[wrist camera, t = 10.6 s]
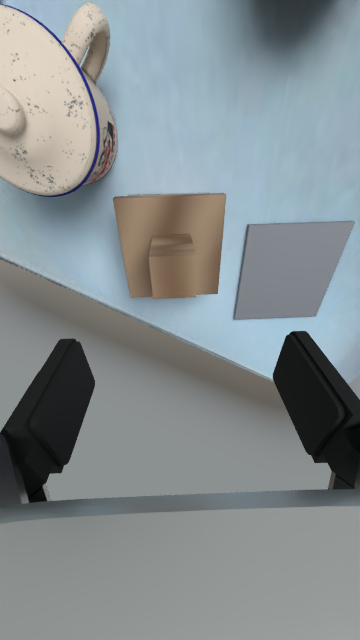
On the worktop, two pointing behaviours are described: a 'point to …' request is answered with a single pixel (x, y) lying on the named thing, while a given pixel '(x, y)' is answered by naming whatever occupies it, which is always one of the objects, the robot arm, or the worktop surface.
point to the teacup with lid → (54, 103)
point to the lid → (171, 243)
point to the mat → (288, 268)
